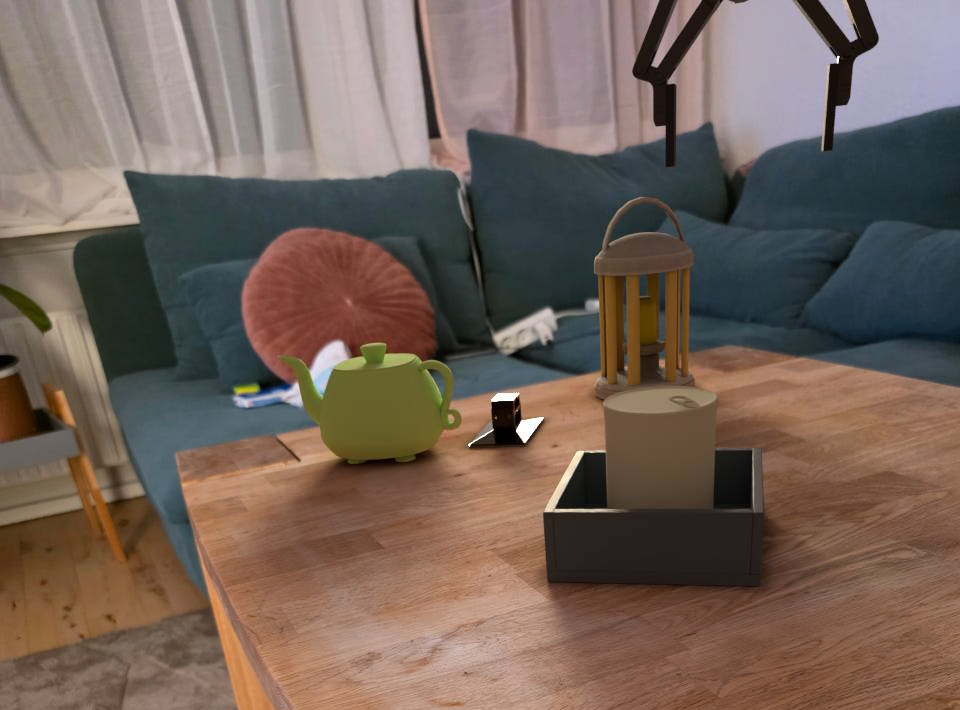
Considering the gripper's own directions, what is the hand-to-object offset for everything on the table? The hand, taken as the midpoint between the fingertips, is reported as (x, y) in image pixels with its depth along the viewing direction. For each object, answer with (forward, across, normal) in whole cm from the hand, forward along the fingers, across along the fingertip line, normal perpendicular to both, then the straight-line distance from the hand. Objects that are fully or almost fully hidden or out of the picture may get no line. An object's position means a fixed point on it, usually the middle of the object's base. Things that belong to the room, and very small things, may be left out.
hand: (746, 159), depth 81 cm
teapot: (+29, +43, -7) cm, 52 cm away
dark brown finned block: (+29, +28, -15) cm, 43 cm away
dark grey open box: (+29, +6, +22) cm, 37 cm away
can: (+28, +6, +22) cm, 36 cm away
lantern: (+29, +13, -36) cm, 48 cm away
